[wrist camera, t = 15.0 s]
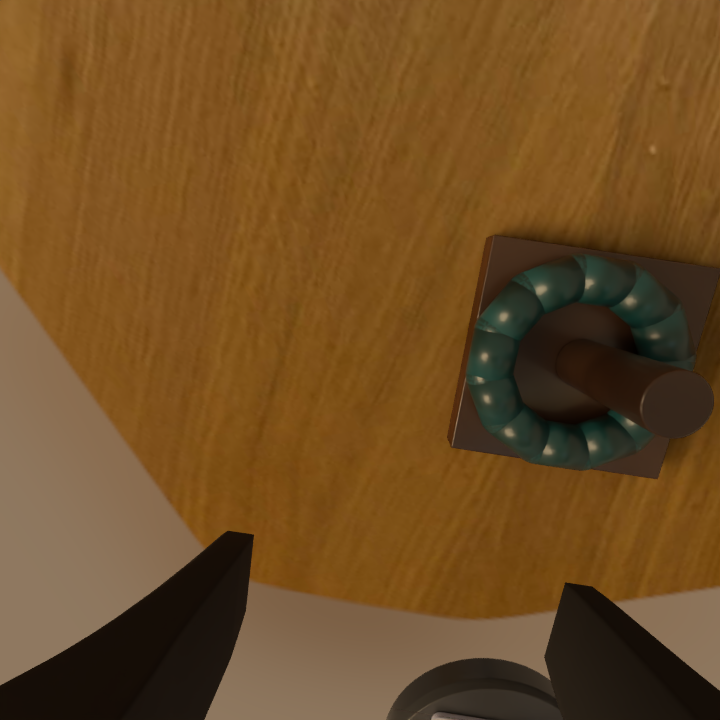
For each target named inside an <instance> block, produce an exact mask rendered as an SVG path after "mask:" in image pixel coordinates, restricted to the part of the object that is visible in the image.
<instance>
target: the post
mask: <svg viewBox="0 0 720 720" xmlns="http://www.w3.org/2000/svg"><path fill="white" fill-rule="evenodd" d="M572 253H582V254H589V255H596V256H603V257H610V258H616V259H623V260H630V261H634V262H636V263H638V264H640V265H641V266H643V267H644V268H645V269H646V270H647V271H648V272H650V273H651V274H652V275H653V276H654V277H655V278H656V279H658V280H659V281H660V282H661V283H662V284H663V285H664V286H666V287H667V288H668V289H669V290H670V291H671V292H673V293H674V294H675V295H676V296H677V297H678V298H679V299H680V300H681V302H682V304H683V306H684V309H685V313H686V316H687V320H688V324H689V328H690V331H691V335H692V339H693V343H694V346H695V350H696V351H697V348H698V345H699V341H700V338H701V335H702V331H703V328H704V325H705V321H706V318H707V315H708V312H709V308H710V305H711V302H712V298H713V295H714V292H715V288H716V285H717V282H718V279H719V275H720V268H714V267H707V266H701V265H694V264H687V263H680V262H674V261H667V260H660V259H653V258H647V257H640V256H633V255H627V254H620V253H613V252H606V251H600V250H593V249H586V248H579V247H573V246H566V245H559V244H552V243H546V242H539V241H532V240H526V239H519V238H512V237H505V236H499V235H493V236H490V237H487V238H486V243H485V248H484V253H483V258H482V263H481V268H480V273H479V278H478V283H477V288H476V293H475V298H474V304H473V309H472V314H471V319H470V324H469V329H468V334H467V339H466V344H465V349H464V354H463V359H462V364H461V370H460V375H459V380H458V385H457V390H456V395H455V400H454V405H453V410H452V415H451V420H450V425H449V430H448V436H447V438H448V441H449V443H450V445H451V447H452V448H458V449H464V450H471V451H477V452H484V453H490V454H497V455H503V456H510V457H516V458H520V457H519V456H518V455H517V454H515V453H514V452H513V451H512V450H510V449H509V448H508V447H507V446H505V445H504V444H503V443H501V442H500V441H499V440H498V439H496V438H495V437H494V436H493V435H491V434H490V433H489V432H488V431H487V430H486V429H485V428H484V427H483V425H482V423H481V421H480V418H479V415H478V412H477V410H476V407H475V404H474V401H473V399H472V396H471V393H470V391H469V388H468V385H467V382H466V378H465V372H466V366H467V361H468V356H469V351H470V346H471V341H472V336H473V331H474V326H475V323H476V321H477V319H478V318H479V316H480V315H481V314H482V313H483V312H484V311H485V309H486V308H487V307H488V306H489V305H490V304H491V302H492V301H493V300H494V299H495V298H496V296H497V295H498V294H499V293H500V292H501V291H502V289H503V288H504V287H505V286H506V285H507V284H508V282H509V281H510V280H511V279H512V278H513V277H515V276H516V275H518V274H520V273H522V272H524V271H527V270H530V269H532V268H535V267H537V266H540V265H542V264H545V263H547V262H550V261H553V260H555V259H558V258H560V257H563V256H565V255H569V254H572ZM514 377H515V380H516V383H517V386H518V389H519V392H520V395H521V398H522V400H523V403H525V404H526V405H527V406H528V407H529V408H531V409H532V410H533V411H534V412H536V413H537V414H538V415H539V416H541V417H542V418H543V419H544V420H547V421H554V422H560V423H567V424H574V425H575V424H578V423H581V422H584V421H587V420H590V419H593V418H596V417H598V416H601V415H604V414H606V413H607V412H608V411H609V410H610V409H611V410H613V411H615V412H616V413H618V414H620V415H622V416H623V417H625V418H627V419H629V420H630V421H632V422H634V423H635V424H637V425H639V426H641V427H642V428H644V429H646V430H648V431H649V432H651V433H653V434H655V435H657V436H656V437H655V438H654V439H653V440H652V441H651V442H650V443H649V444H648V445H647V446H646V447H645V448H644V449H642V450H641V451H640V452H638V453H636V454H634V455H631V456H628V457H625V458H622V459H619V460H616V461H613V462H610V463H607V464H604V465H601V466H598V467H595V468H592V469H594V470H601V471H607V472H614V473H620V474H627V475H633V476H639V477H646V478H652V479H658V477H659V473H660V470H661V467H662V463H663V460H664V457H665V453H666V450H667V447H668V444H669V440H670V439H671V438H682V437H686V436H688V435H691V434H693V433H694V432H696V431H697V430H699V429H700V428H701V427H702V426H703V425H704V424H705V423H706V422H707V420H708V419H709V417H710V415H711V413H712V410H713V405H714V396H713V392H712V389H711V387H710V385H709V384H708V383H707V381H706V380H705V379H704V378H703V377H702V376H700V375H699V374H697V373H695V372H692V371H689V370H686V369H683V368H679V367H676V366H673V365H670V364H666V363H663V362H660V361H657V360H653V359H650V358H647V357H643V356H640V355H638V352H637V349H636V345H635V342H634V339H633V335H632V332H631V328H630V326H629V325H628V324H626V323H625V322H624V321H623V320H622V319H621V318H619V317H618V316H617V315H616V314H615V313H613V312H612V311H611V310H610V309H609V308H608V307H603V306H596V305H590V304H583V303H574V304H571V305H568V306H566V307H563V308H560V309H558V310H555V311H552V312H550V313H547V314H544V315H543V316H542V318H541V319H540V320H539V321H538V322H537V323H536V324H535V326H534V327H533V328H532V329H531V330H530V331H529V332H528V333H527V335H526V336H525V337H524V338H523V339H522V340H521V342H520V346H519V351H518V355H517V360H516V364H515V369H514Z"/></svg>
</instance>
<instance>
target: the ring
mask: <svg viewBox="0 0 720 720" xmlns="http://www.w3.org/2000/svg"><path fill="white" fill-rule="evenodd" d="M574 303H583V304H590V305H596V306H603V307H608V308H609V309H610V310H611V311H612V312H613V313H615V314H616V315H617V316H618V317H619V318H621V319H622V320H623V321H624V322H625V323H626V324H628V325H629V326H630V328H631V332H632V335H633V339H634V342H635V345H636V349H637V352H638V355H640V356H643V357H647V358H650V359H653V360H657V361H660V362H663V363H666V364H670V365H673V366H676V367H679V368H683V369H686V370H689V371H692V372H693V369H694V366H695V362H696V350H695V346H694V343H693V339H692V335H691V331H690V328H689V324H688V320H687V316H686V313H685V309H684V306H683V304H682V302H681V300H680V299H679V298H678V297H677V296H676V295H675V294H674V293H673V292H671V291H670V290H669V289H668V288H667V287H666V286H664V285H663V284H662V283H661V282H660V281H659V280H658V279H656V278H655V277H654V276H653V275H652V274H651V273H650V272H648V271H647V270H646V269H645V268H644V267H643V266H641V265H640V264H638V263H636V262H634V261H630V260H623V259H616V258H610V257H603V256H596V255H589V254H582V253H572V254H569V255H565V256H563V257H560V258H558V259H555V260H553V261H550V262H547V263H545V264H542V265H540V266H537V267H535V268H532V269H530V270H527V271H524V272H522V273H520V274H518V275H516V276H515V277H513V278H512V279H511V280H510V281H509V282H508V284H507V285H506V286H505V287H504V288H503V289H502V291H501V292H500V293H499V294H498V295H497V296H496V298H495V299H494V300H493V301H492V302H491V304H490V305H489V306H488V307H487V308H486V309H485V311H484V312H483V313H482V314H481V315H480V316H479V318H478V319H477V321H476V323H475V326H474V331H473V336H472V341H471V346H470V351H469V356H468V361H467V366H466V372H465V378H466V382H467V385H468V388H469V391H470V393H471V396H472V399H473V401H474V404H475V407H476V410H477V412H478V415H479V418H480V421H481V423H482V425H483V427H484V428H485V429H486V430H487V431H488V432H489V433H490V434H491V435H493V436H494V437H495V438H496V439H498V440H499V441H500V442H501V443H503V444H504V445H505V446H507V447H508V448H509V449H510V450H512V451H513V452H514V453H515V454H517V455H518V456H519V457H520V458H522V459H523V460H525V461H527V462H529V463H533V464H539V465H546V466H552V467H559V468H566V469H572V470H579V471H583V470H589V469H592V468H595V467H598V466H601V465H604V464H607V463H610V462H613V461H616V460H619V459H622V458H625V457H628V456H631V455H634V454H636V453H638V452H640V451H641V450H642V449H644V448H645V447H646V446H647V445H648V444H649V443H650V442H651V441H652V440H653V439H654V438H655V437H656V436H657V435H655V434H653V433H651V432H649V431H648V430H646V429H644V428H642V427H641V426H639V425H637V424H635V423H634V422H632V421H630V420H629V419H627V418H625V417H623V416H622V415H620V414H618V413H616V412H615V411H613V410H611V409H610V410H609V411H608V412H607V413H606V414H604V415H601V416H598V417H596V418H593V419H590V420H587V421H584V422H581V423H578V424H575V425H574V424H567V423H560V422H554V421H547V420H544V419H543V418H542V417H541V416H539V415H538V414H537V413H536V412H534V411H533V410H532V409H531V408H529V407H528V406H527V405H526V404H525V403H523V400H522V398H521V395H520V392H519V389H518V386H517V383H516V380H515V377H514V369H515V364H516V360H517V355H518V351H519V346H520V342H521V340H522V339H523V338H524V337H525V336H526V335H527V333H528V332H529V331H530V330H531V329H532V328H533V327H534V326H535V324H536V323H537V322H538V321H539V320H540V319H541V318H542V316H543V315H544V314H547V313H550V312H552V311H555V310H558V309H560V308H563V307H566V306H568V305H571V304H574Z"/></svg>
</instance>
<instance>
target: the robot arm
mask: <svg viewBox="0 0 720 720" xmlns="http://www.w3.org/2000/svg"><path fill="white" fill-rule="evenodd" d="M253 539H254V535H252V534H246V533H239V532H233V531H227V532H225V533H224V534H222V535H221V536H220V537H219V538H218V539H217V540H215V541H214V542H213V543H212V544H211V545H210V546H208V547H207V548H206V549H205V550H204V551H203V552H201V553H200V554H199V555H198V556H197V557H195V558H194V559H193V560H192V561H191V562H190V563H188V564H187V565H186V566H185V567H184V568H182V569H181V570H180V571H178V572H177V573H176V574H174V576H172V577H171V578H169V579H168V580H167V581H166V582H164V583H163V584H162V585H161V586H160V587H158V588H157V589H155V590H154V591H153V592H151V593H150V594H149V595H147V596H146V597H144V598H143V599H142V600H140V601H139V602H138V603H136V604H135V605H133V606H132V607H131V608H129V609H128V610H126V611H125V612H124V613H122V614H121V615H119V616H118V617H117V618H115V619H114V620H112V621H111V622H109V623H108V624H106V625H105V626H103V627H102V628H100V629H99V630H97V631H96V632H94V633H92V634H91V635H90V636H88V637H86V638H84V639H83V640H81V641H80V642H78V643H76V644H75V645H73V646H71V647H70V648H68V649H66V650H65V651H63V652H61V653H60V654H58V655H56V656H54V657H53V658H51V659H49V660H47V661H45V662H43V663H41V664H40V665H38V666H36V667H34V668H32V669H30V670H28V671H27V672H25V673H23V674H21V675H19V676H17V677H15V678H13V679H12V680H10V681H8V682H6V683H4V684H2V685H0V720H204V719H205V717H206V714H207V712H208V710H209V708H210V705H211V703H212V701H213V698H214V696H215V694H216V691H217V689H218V687H219V684H220V682H221V680H222V677H223V675H224V673H225V670H226V668H227V666H228V663H229V661H230V659H231V656H232V653H233V650H234V647H235V643H236V640H237V637H238V634H239V631H240V628H241V625H242V621H243V618H244V615H245V612H246V604H247V595H248V585H249V576H250V567H251V557H252V548H253ZM544 658H545V661H546V665H547V668H548V672H549V675H550V680H551V683H552V687H553V690H554V693H555V697H556V700H557V703H558V706H559V710H560V712H561V715H562V717H563V720H720V691H719V690H718V689H717V688H716V687H714V686H713V685H712V684H711V683H709V682H708V681H707V680H706V679H704V678H703V677H702V676H701V675H699V674H698V673H697V672H696V671H694V670H693V669H692V668H691V667H689V666H688V665H687V664H686V663H685V662H683V661H682V660H681V659H680V658H679V657H677V656H676V655H675V654H674V653H673V652H671V651H670V650H669V649H668V648H666V647H665V646H664V645H663V644H662V643H661V642H659V641H658V640H657V639H656V638H655V637H654V636H652V635H651V634H650V633H649V632H648V631H646V630H645V629H644V628H643V627H641V626H640V625H639V624H638V623H637V622H636V621H634V620H633V619H632V618H631V617H630V616H628V615H627V614H626V613H625V612H624V611H623V610H621V609H620V608H619V607H618V606H616V605H615V604H614V603H613V602H612V601H610V600H609V599H608V598H606V597H605V596H604V595H603V594H601V593H600V592H599V591H597V590H596V589H595V588H593V587H591V586H585V585H578V584H572V583H565V585H564V589H563V592H562V596H561V600H560V603H559V607H558V610H557V614H556V617H555V621H554V625H553V628H552V632H551V635H550V639H549V642H548V646H547V650H546V653H545V657H544ZM431 720H488V719H482V718H476V717H470V716H463V715H457V714H451V713H445V712H437V713H435V714H434V715H433V716H432V718H431Z"/></svg>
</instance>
